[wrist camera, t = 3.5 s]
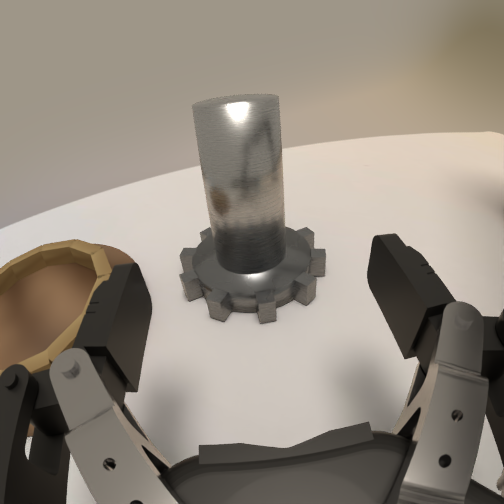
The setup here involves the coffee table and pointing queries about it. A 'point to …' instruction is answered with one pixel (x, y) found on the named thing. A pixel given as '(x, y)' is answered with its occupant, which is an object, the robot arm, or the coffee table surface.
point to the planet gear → (247, 215)
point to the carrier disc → (49, 300)
